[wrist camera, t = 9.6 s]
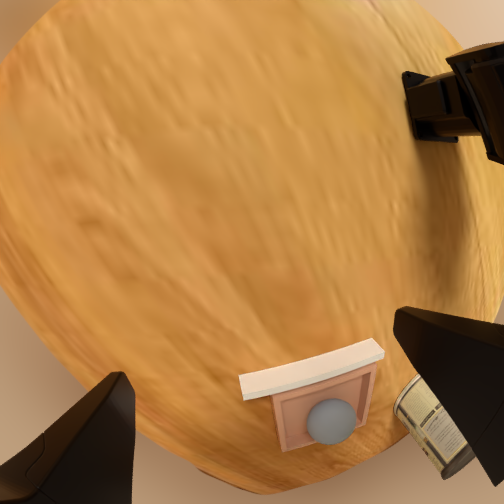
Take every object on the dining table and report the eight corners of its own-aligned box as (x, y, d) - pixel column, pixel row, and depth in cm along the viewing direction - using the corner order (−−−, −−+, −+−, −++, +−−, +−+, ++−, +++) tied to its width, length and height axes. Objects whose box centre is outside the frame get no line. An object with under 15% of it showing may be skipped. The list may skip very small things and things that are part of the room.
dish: (366, 353, 24) (377, 364, 22) (358, 413, 27) (365, 424, 25) (267, 383, 23) (272, 398, 21) (277, 439, 26) (282, 452, 24)
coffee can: (456, 365, 29) (511, 416, 16) (414, 416, 31) (459, 472, 18) (429, 354, 27) (499, 419, 13) (379, 414, 28) (430, 487, 15)
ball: (344, 382, 24) (368, 414, 19) (341, 411, 25) (361, 441, 21) (298, 398, 23) (317, 435, 19) (300, 426, 25) (316, 459, 20)
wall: (371, 337, 24) (384, 351, 21) (371, 344, 24) (383, 357, 21) (238, 375, 22) (242, 394, 20) (240, 381, 22) (244, 400, 20)
